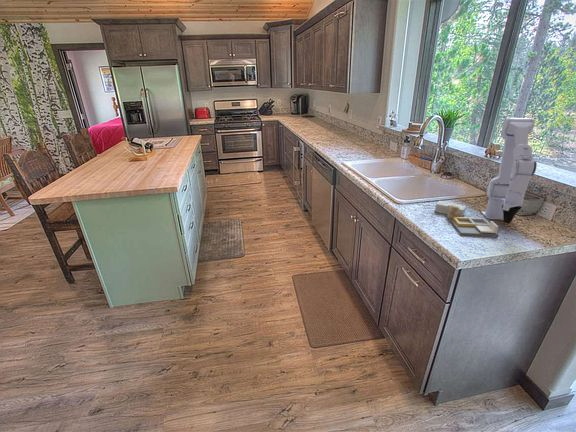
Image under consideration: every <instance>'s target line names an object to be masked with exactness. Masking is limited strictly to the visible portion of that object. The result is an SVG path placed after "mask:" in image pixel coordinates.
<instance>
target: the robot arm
mask: <svg viewBox="0 0 576 432" xmlns="http://www.w3.org/2000/svg"><path fill="white" fill-rule="evenodd" d="M534 127H535V119H534V117H506V118H505V119H504V121H503V123H502V128H501V131H500V138H502V139H504V140H503V141H504V143H503V144H504V145H503V149H502V155H501V159H500V165H499V169H498V174H497V176H496V177H494V178H491V179H490V181H489V182H488V185H487V189H486V196H487V197H488V202H487V205H486V207H485V211H481V212H480V213H481V214H482V215H484V217H485V218H487V219H488V220H502V221H503V223H504V224H505V223H506V224H508V225H509V224H510V223H512V221H513V220H514V218H515V216H516V215H517V213H518V212H519V211H520V210H521V209H522V206H523V203H524V202H523V201H524V199H525V196H526V193H527V189H528V186H529V182H530V179H531V177H532V176H534V175H535V173H536V170H537V165H538V164H537V160H536V159H535V158H533V149H532V146H531V145H529V136H530V134H531V133H532V131H533V130H534Z"/></svg>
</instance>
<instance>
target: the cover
mask: <svg viewBox="0 0 576 432" xmlns="http://www.w3.org/2000/svg"><path fill="white" fill-rule="evenodd" d="M489 223H490V224H489V226H476V228H477V229H478V230H479V231H480V232H485V233H497V234H498V230H499V225H497V223H495V222H494V221H493V220H490V221H489Z"/></svg>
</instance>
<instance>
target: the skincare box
mask: <svg viewBox="0 0 576 432" xmlns="http://www.w3.org/2000/svg"><path fill="white" fill-rule="evenodd" d="M450 205H456V206H459V212H458V216H457V217H464V215H465V213H466V209H467V206H466V205H463V204H459V203H458V204H457V203H454V202H453V203H452V202H449V201H448V202H447V201H443V200H439V201H437V203H436V205H435V210H434V212H436V213H440V214H444V215H447V216H448V211H449V207H450Z"/></svg>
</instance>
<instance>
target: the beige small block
mask: <svg viewBox="0 0 576 432" xmlns="http://www.w3.org/2000/svg"><path fill="white" fill-rule="evenodd" d="M458 212H459V206H456V205H450V207H449V211H448V215H447V217H446V219H448V220H449V221H450V219H453V217H457V216H458Z"/></svg>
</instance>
